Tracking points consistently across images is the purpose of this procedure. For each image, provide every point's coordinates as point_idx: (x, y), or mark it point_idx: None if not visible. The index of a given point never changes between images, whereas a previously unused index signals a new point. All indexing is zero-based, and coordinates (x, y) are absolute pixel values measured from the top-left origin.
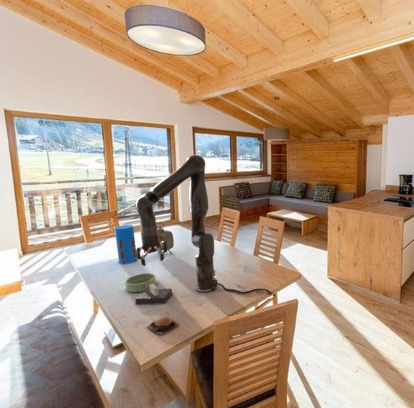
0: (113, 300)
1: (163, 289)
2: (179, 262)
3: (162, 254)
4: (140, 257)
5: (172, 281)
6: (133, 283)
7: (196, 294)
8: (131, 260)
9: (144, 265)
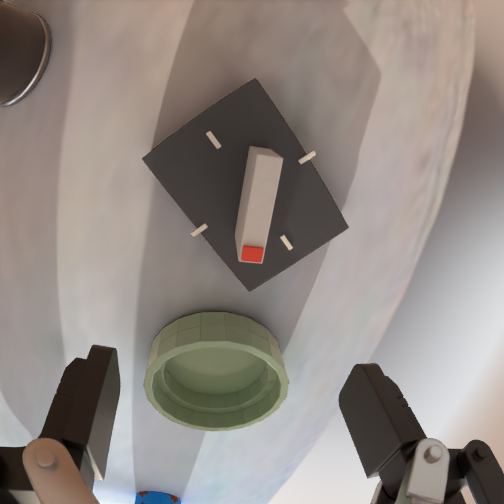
0: (353, 331)
1: (183, 194)
2: (22, 408)
3: (57, 439)
4: (456, 471)
5: (82, 294)
6: (230, 397)
7: (80, 27)
8: (153, 496)
9: (376, 366)
